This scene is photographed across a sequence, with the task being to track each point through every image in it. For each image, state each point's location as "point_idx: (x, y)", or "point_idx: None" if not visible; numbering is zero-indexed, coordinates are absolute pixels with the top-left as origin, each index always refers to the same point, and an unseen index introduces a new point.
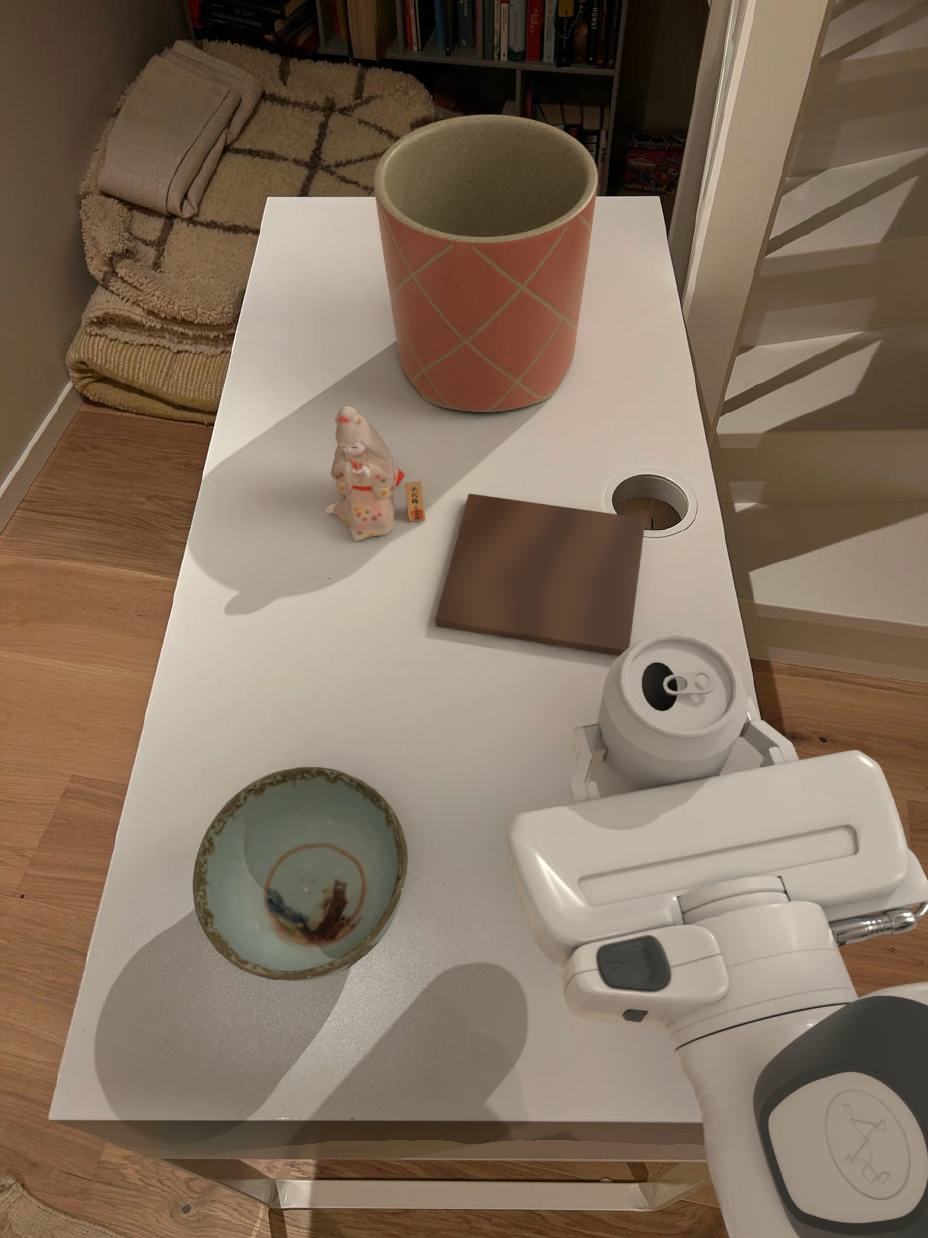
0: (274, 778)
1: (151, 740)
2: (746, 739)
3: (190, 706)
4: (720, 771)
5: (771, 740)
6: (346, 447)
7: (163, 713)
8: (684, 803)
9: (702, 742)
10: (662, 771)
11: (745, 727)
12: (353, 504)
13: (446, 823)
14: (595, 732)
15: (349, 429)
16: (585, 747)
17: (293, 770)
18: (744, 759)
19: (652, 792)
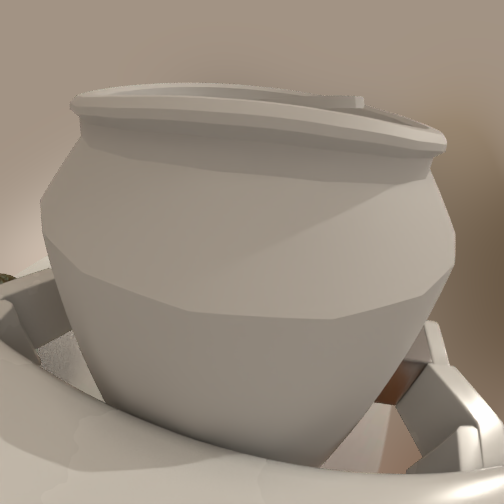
0: (5, 277)
1: (26, 268)
2: (401, 411)
3: (50, 264)
4: (314, 458)
5: (466, 409)
6: None
7: (39, 261)
8: (68, 467)
9: (207, 204)
10: (81, 334)
11: (412, 378)
12: None
13: (96, 396)
14: None
15: None
16: None
17: (14, 278)
18: (367, 464)
19: (33, 377)
